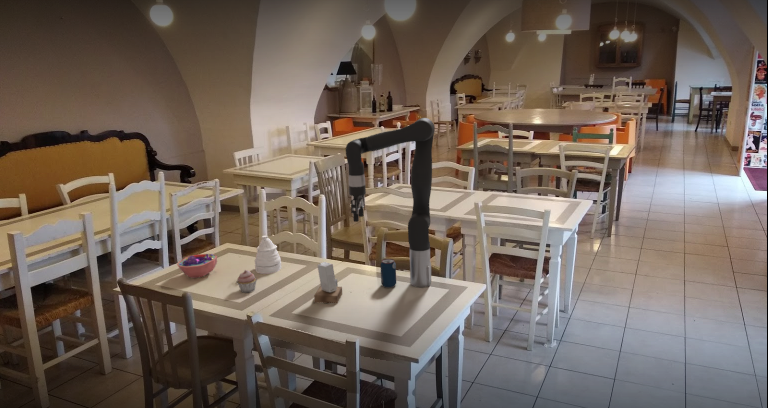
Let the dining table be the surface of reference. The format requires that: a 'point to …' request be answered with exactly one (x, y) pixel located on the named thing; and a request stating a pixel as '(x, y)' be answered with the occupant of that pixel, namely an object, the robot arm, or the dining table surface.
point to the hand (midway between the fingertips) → (358, 218)
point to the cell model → (198, 265)
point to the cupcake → (246, 281)
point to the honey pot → (267, 257)
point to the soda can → (388, 273)
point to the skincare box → (327, 277)
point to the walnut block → (328, 296)
